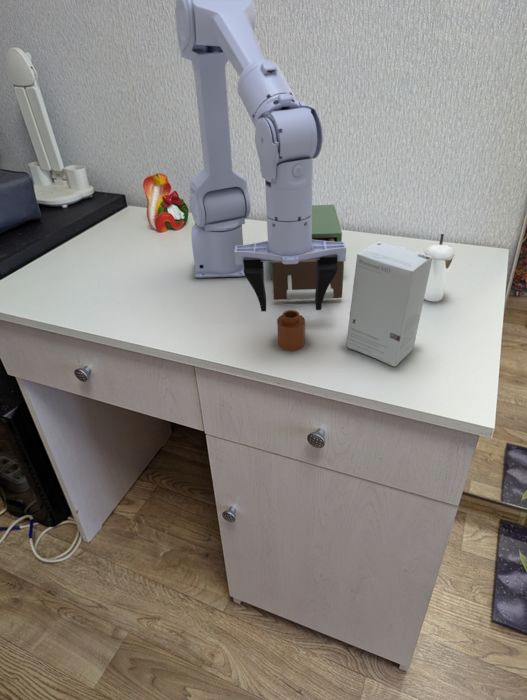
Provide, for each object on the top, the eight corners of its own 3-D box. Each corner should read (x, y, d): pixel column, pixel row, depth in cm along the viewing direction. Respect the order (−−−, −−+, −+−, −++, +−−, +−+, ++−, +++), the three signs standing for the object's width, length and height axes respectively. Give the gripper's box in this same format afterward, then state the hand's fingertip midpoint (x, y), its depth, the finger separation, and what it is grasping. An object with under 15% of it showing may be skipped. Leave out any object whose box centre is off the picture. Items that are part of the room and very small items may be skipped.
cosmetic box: (345, 348, 72) (351, 253, 63) (366, 330, 75) (375, 238, 67) (398, 369, 67) (412, 270, 59) (418, 348, 71) (434, 252, 62)
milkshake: (447, 290, 84) (457, 234, 79) (445, 305, 80) (456, 248, 74) (419, 287, 86) (428, 232, 80) (416, 301, 82) (425, 245, 76)
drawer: (346, 319, 77) (349, 280, 73) (273, 321, 77) (271, 282, 73) (334, 262, 93) (336, 228, 89) (274, 264, 94) (273, 230, 90)
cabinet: (339, 277, 90) (342, 232, 85) (271, 279, 90) (269, 235, 86) (332, 245, 102) (334, 204, 97) (271, 247, 102) (270, 206, 97)
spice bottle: (278, 351, 72) (276, 322, 69) (278, 335, 75) (277, 307, 72) (305, 350, 72) (305, 321, 69) (304, 335, 75) (304, 306, 72)
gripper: (229, 227, 59) (238, 323, 67) (351, 223, 58) (345, 320, 66) (233, 207, 65) (241, 298, 73) (344, 203, 64) (340, 295, 72)
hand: (290, 307), depth 70 cm, fingers open, 7 cm apart
